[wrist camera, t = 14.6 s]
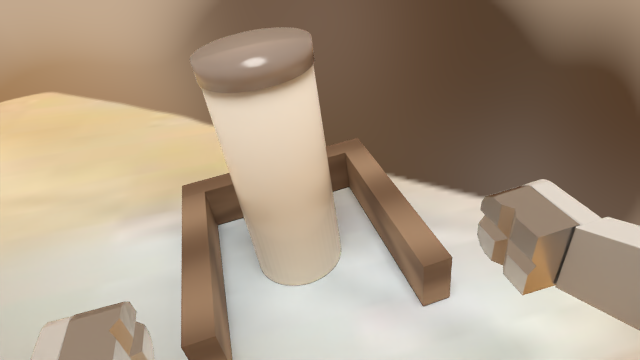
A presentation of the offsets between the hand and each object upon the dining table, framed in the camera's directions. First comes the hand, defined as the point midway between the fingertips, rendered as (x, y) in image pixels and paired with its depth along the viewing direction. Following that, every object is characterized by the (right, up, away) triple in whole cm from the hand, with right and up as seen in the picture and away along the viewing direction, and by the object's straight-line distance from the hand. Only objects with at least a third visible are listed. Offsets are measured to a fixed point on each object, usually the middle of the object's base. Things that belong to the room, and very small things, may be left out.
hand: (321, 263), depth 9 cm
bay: (-1, -3, +16) cm, 16 cm away
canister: (-1, -3, +16) cm, 16 cm away
